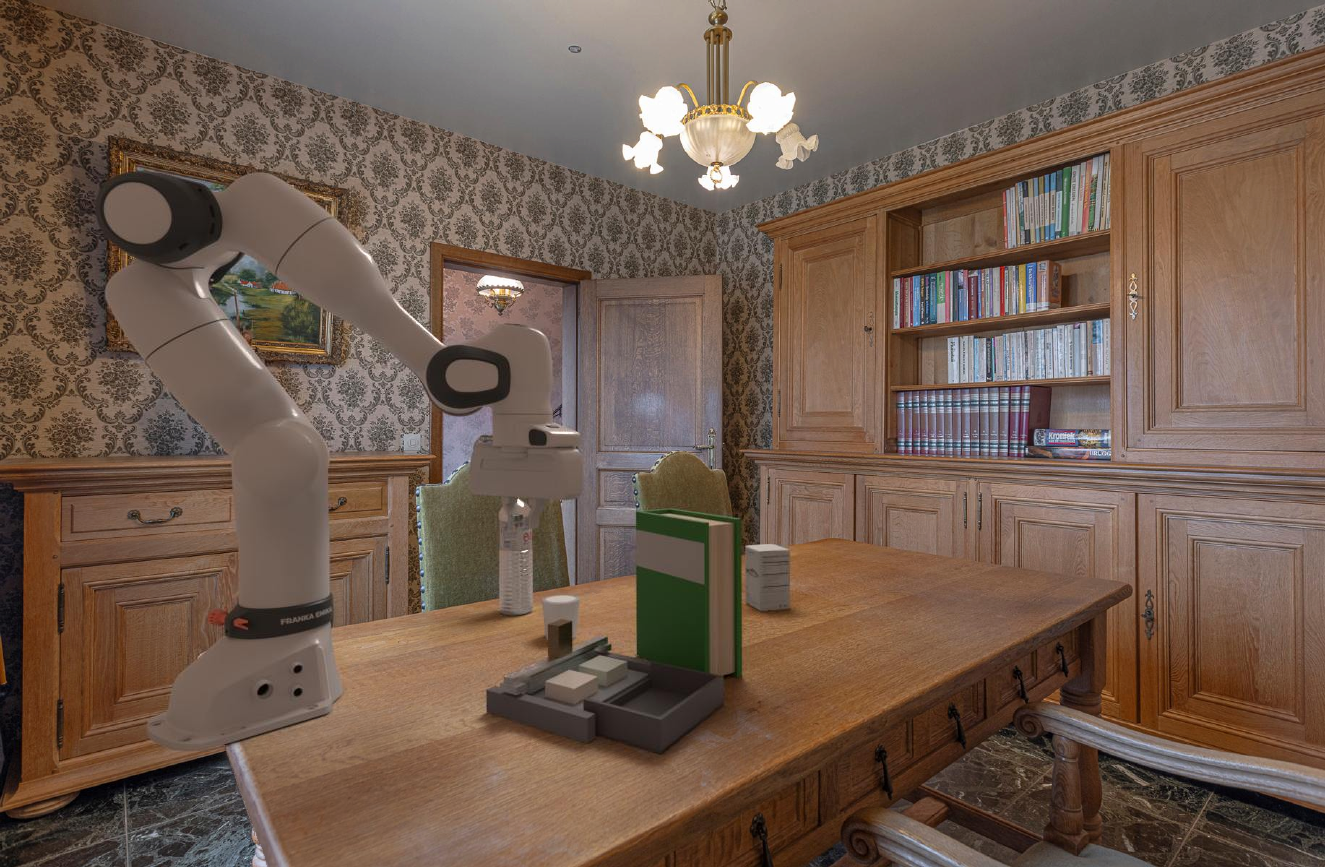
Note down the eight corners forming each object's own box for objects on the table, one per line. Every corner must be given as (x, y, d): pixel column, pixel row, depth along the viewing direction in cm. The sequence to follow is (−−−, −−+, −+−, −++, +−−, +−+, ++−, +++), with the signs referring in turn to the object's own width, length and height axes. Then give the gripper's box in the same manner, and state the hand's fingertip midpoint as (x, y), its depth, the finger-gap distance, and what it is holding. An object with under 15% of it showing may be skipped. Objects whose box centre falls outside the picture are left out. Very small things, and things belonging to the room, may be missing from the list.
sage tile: (606, 686, 91) (606, 672, 91) (578, 679, 94) (578, 665, 94) (627, 675, 96) (627, 661, 96) (599, 668, 98) (599, 655, 98)
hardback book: (742, 676, 100) (741, 518, 100) (704, 687, 96) (704, 522, 96) (671, 646, 115) (671, 508, 115) (636, 655, 110) (635, 511, 110)
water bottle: (519, 605, 142) (518, 489, 142) (539, 611, 138) (539, 491, 138) (492, 612, 137) (491, 492, 137) (513, 618, 132) (512, 493, 132)
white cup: (572, 643, 116) (572, 604, 116) (536, 641, 118) (535, 602, 118) (585, 632, 123) (584, 594, 123) (550, 630, 124) (550, 592, 124)
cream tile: (574, 704, 85) (574, 688, 85) (545, 696, 88) (545, 681, 88) (597, 691, 90) (597, 676, 90) (569, 684, 92) (569, 669, 92)
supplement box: (744, 603, 143) (744, 545, 143) (775, 600, 145) (774, 543, 145) (759, 611, 136) (759, 550, 136) (791, 608, 138) (791, 548, 138)
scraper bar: (516, 703, 85) (516, 644, 85) (499, 698, 86) (499, 640, 86) (611, 657, 102) (611, 607, 102) (596, 653, 104) (595, 604, 104)
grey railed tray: (587, 743, 79) (587, 718, 79) (486, 712, 88) (486, 689, 88) (675, 686, 96) (675, 666, 96) (583, 665, 105) (583, 646, 105)
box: (661, 754, 76) (661, 719, 76) (579, 730, 82) (579, 698, 82) (723, 705, 90) (723, 675, 90) (649, 687, 96) (649, 660, 96)
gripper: (458, 434, 101) (458, 525, 101) (560, 434, 90) (561, 535, 90) (489, 434, 106) (489, 520, 106) (589, 434, 95) (590, 529, 95)
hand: (523, 527), depth 98 cm, fingers closed
